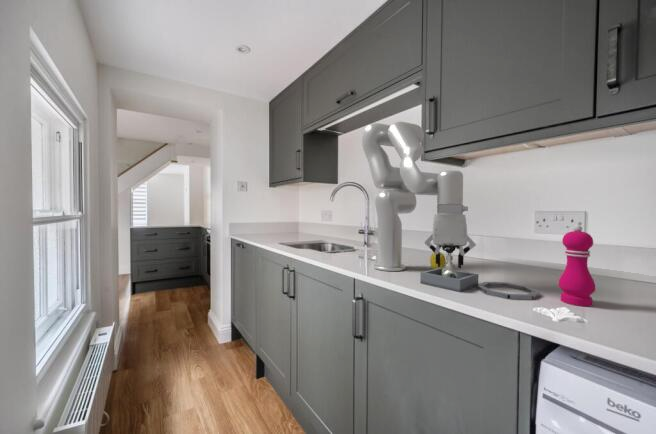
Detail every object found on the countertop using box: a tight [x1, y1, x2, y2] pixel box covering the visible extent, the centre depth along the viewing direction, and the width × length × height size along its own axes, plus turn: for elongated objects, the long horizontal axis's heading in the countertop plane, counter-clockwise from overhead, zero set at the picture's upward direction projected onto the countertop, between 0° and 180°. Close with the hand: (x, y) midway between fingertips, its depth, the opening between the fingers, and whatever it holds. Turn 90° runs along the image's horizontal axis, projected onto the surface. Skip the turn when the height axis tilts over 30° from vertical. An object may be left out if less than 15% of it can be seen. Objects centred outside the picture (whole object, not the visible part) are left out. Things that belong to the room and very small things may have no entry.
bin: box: [419, 267, 479, 293], centre depth 93 cm, size 13×12×4 cm
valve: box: [439, 245, 460, 279], centre depth 92 cm, size 7×7×12 cm
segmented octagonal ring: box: [476, 281, 541, 301], centre depth 85 cm, size 15×15×1 cm
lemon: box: [429, 251, 447, 270], centre depth 111 cm, size 6×6×8 cm
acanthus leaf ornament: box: [532, 306, 590, 324], centre depth 65 cm, size 8×7×2 cm
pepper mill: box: [558, 224, 596, 307], centre depth 75 cm, size 7×7×20 cm
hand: (449, 266), depth 93 cm, fingers open, 5 cm apart
